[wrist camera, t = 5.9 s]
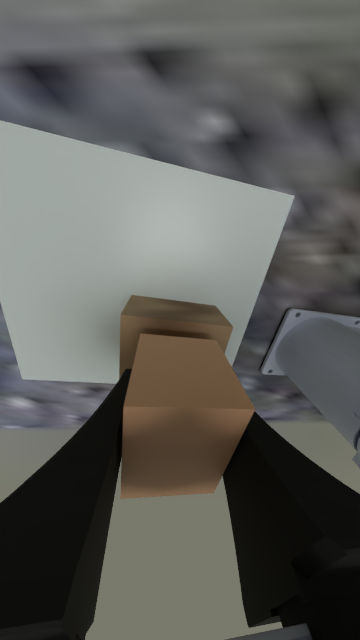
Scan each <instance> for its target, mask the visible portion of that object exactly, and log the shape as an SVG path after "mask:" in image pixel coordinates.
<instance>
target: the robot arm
mask: <svg viewBox="0 0 360 640" xmlns="http://www.w3.org/2000/svg"><path fill="white" fill-rule="evenodd" d="M297 313H298V314H297ZM296 314H297V315H296ZM260 371H261V372H262V373H263V374H268V375H283V376H287V377H288V378H289V379H290V380H291V381H292V382H293V383H294V384H295V385H296V386H297V387H298V388H299V389H300V390H301V392H302V393H303V394H304V395H305V396H306V397H307V398H308V399H309V400H310V401H311V402H312V403H313V404H314V405H315V407H316V408H317V409H318V410H319V411H320V412H321V413H322V414H323V415H324V416H325V417H326V418H327V419H328V421H329V422H330V423H331V424H332V425H333V426H334V427H335V428H336V429H337V430H338V431H339V432H340V433H341V434H342V436H343V437H344V438H345V439H346V440H347V441H348V442H349V443H350V444H351V445H352V446H353V447H354V448H355V449H356V450H357V454H356V455H355V456H354V458H353V461H354V462H355V463H356V464H357V466H358V467H359V468H360V317H354V316H347V315H340V314H332V313H325V312H318V311H310V310H303V309H296V308H291V309H289V310H288V311H287V312H286V315H285V317H284V319H283V321H282V323H281V326H280V328H279V330H278V332H277V334H276V336H275V339H274V341H273V343H272V345H271V347H270V350H269V352H268V354H267V356H266V358H265V360H264V363H263V365H262V367H261V370H260ZM131 372H132V369H125V370H124V372H123V374H122V376H121V377H120V379H119V381H118V382H117V384H116V385H115V387H114V388H113V389H112V391H111V392H110V393H109V395H108V396H107V397H106V399H105V400H104V401H103V403H102V404H101V405H100V406H99V408H98V409H97V410H96V411H95V412H94V414H93V415H92V416H91V417H90V418H89V419H88V421H87V422H86V423H85V424H84V425H83V426H82V427H81V428H80V429H79V430H78V431H77V433H76V434H75V435H74V436H73V437H72V438H71V439H70V440H69V441H68V442H67V443H66V444H65V445H64V446H63V447H62V448H61V449H60V450H59V451H58V452H57V453H56V454H55V455H54V456H53V457H52V458H50V459H49V460H48V461H47V462H46V463H45V464H44V465H43V466H42V467H41V468H40V469H38V470H37V471H36V472H35V473H34V474H33V475H32V476H31V477H30V478H28V479H27V480H26V481H25V482H24V483H23V484H22V485H21V486H20V487H18V488H17V489H16V490H15V491H14V492H13V493H12V494H10V495H9V496H8V497H7V498H6V499H5V500H3V501H2V502H1V503H0V640H85V635H86V633H87V631H88V629H89V628H90V626H91V625H92V623H93V621H94V615H95V609H96V602H97V596H98V590H99V584H100V578H101V572H102V566H103V560H104V554H105V548H106V542H107V536H108V530H109V524H110V518H111V512H112V507H113V501H114V494H115V489H116V483H117V478H118V472H119V467H120V462H121V458H122V437H123V406H124V402H125V398H126V393H127V389H128V385H129V381H130V376H131ZM223 479H224V484H225V489H226V495H227V500H228V506H229V511H230V518H231V524H232V530H233V536H234V542H235V549H236V555H237V563H238V570H239V577H240V583H241V592H242V600H243V606H244V610H245V615H246V619H247V624H248V626H249V627H256V626H261V625H265V624H271V623H276V622H281V623H282V626H283V628H280V629H275V630H270V631H266V632H261V633H256V634H251V635H246V636H241V637H236V638H231V639H227V640H360V494H359V493H357V492H355V491H354V490H352V489H351V488H349V487H348V486H346V485H345V484H343V483H342V482H340V481H339V480H338V479H336V478H335V477H333V476H331V474H329V473H328V472H326V471H325V470H324V469H322V468H321V467H319V466H318V465H317V464H315V463H314V462H313V461H311V460H310V459H309V458H307V457H306V456H305V455H304V454H302V453H301V452H300V451H299V450H297V449H296V448H295V447H293V446H292V445H291V444H290V443H289V442H287V441H286V440H285V439H284V438H283V437H281V436H280V435H279V434H278V433H277V432H276V431H275V430H274V429H272V428H271V427H270V426H269V425H268V424H267V423H266V422H265V421H264V420H263V419H262V418H261V417H260V416H259V415H258V414H257V413H256V412H255V411H254V413H253V415H252V417H251V419H250V421H249V423H248V425H247V427H246V429H245V431H244V433H243V435H242V437H241V439H240V441H239V443H238V445H237V447H236V449H235V451H234V453H233V455H232V457H231V459H230V461H229V463H228V465H227V467H226V469H225V471H224V473H223Z"/></svg>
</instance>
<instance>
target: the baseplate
mask: <svg viewBox="0 0 360 640" xmlns="http://www.w3.org/2000/svg"><path fill="white" fill-rule="evenodd" d="M293 199H294V196H293V195H289V194H285V193H281V192H277V191H273V190H269V189H265V188H261V187H257V186H254V185H250V184H246V183H242V182H238V181H234V180H230V179H226V178H222V177H219V176H215V175H211V174H207V173H203V172H199V171H195V170H191V169H187V168H184V167H180V166H176V165H172V164H168V163H164V162H160V161H156V160H152V159H149V158H145V157H141V156H137V155H133V154H129V153H125V152H121V151H117V150H114V149H110V148H106V147H102V146H98V145H94V144H90V143H86V142H82V141H79V140H75V139H71V138H67V137H63V136H59V135H55V134H51V133H47V132H43V131H40V130H36V129H32V128H28V127H24V126H20V125H16V124H12V123H8V122H5V121H1V120H0V302H1V306H2V309H3V313H4V316H5V320H6V323H7V327H8V330H9V334H10V337H11V341H12V344H13V348H14V351H15V355H16V358H17V362H18V365H19V369H20V372H21V376H22V379H28V380H50V381H71V382H93V383H114V384H117V382H118V381H119V361H120V315H121V313H122V311H123V309H124V308H125V306H126V304H127V302H128V301H129V299H130V297H131V295H137V296H145V297H152V298H160V299H168V300H176V301H184V302H191V303H199V304H207V305H215V306H216V307H217V308H218V309H219V310H220V312H221V313H222V314H223V315H224V316H225V318H226V319H227V320H228V321H229V322H230V323H231V325H232V326H233V330H232V333H231V336H230V339H229V342H228V345H227V348H226V351H225V356H226V358H227V360H228V362H229V363H230V365H231V367H232V365H233V363H234V360H235V357H236V354H237V352H238V349H239V346H240V343H241V341H242V338H243V335H244V333H245V330H246V327H247V324H248V322H249V319H250V316H251V314H252V311H253V308H254V305H255V303H256V300H257V297H258V294H259V292H260V289H261V286H262V284H263V281H264V278H265V275H266V273H267V270H268V267H269V264H270V262H271V259H272V256H273V254H274V251H275V248H276V245H277V243H278V240H279V237H280V235H281V232H282V229H283V226H284V224H285V221H286V218H287V215H288V213H289V210H290V207H291V205H292V202H293Z"/></svg>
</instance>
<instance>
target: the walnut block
mask: <svg viewBox="0 0 360 640" xmlns="http://www.w3.org/2000/svg"><path fill="white" fill-rule="evenodd" d="M232 330H233V326H232V325H231V323H230V322H229V321H228V320H227V319H226V318H225V316H224V315H223V314H222V313H221V312H220V310H219V309H218V308H217V307H216V306H215V305H207V304H199V303H191V302H184V301H176V300H168V299H160V298H152V297H145V296H137V295H131V297H130V299H129V301H128V302H127V304H126V306H125V308H124V309H123V311H122V313H121V315H120V361H119V379H120V377H121V376H122V374H123V372H124V370H125V369H132V368H133V363H134V359H135V355H136V350H137V346H138V342H139V337H140V334H152V335H163V336H174V337H186V338H197V339H208V340H217V342H218V344H219V345H220V347H221V349H222V351H223V353H224V354H225V351H226V348H227V345H228V342H229V339H230V336H231V333H232Z"/></svg>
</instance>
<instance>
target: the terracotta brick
mask: <svg viewBox="0 0 360 640" xmlns="http://www.w3.org/2000/svg"><path fill="white" fill-rule="evenodd" d="M254 411H255V408H254V406H253V404H252V403H251V401H250V399H249V397H248V396H247V394H246V392H245V390H244V388H243V387H242V385H241V383H240V381H239V379H238V378H237V376H236V374H235V372H234V370H233V369H232V367H231V365H230V363H229V362H228V360H227V358H226V356H225V354H224V353H223V351H222V349H221V347H220V345H219V344H218V342H217V340H208V339H197V338H186V337H174V336H163V335H152V334H140V337H139V342H138V346H137V350H136V355H135V359H134V363H133V368H132V372H131V376H130V381H129V385H128V389H127V393H126V398H125V402H124V406H123V437H122V470H121V471H122V472H121V499H125V498H141V497H157V496H173V495H189V494H204V493H205V494H206V493H214V491H215V489H216V487H217V485H218V483H219V481H220V479H221V477H222V475H223V473H224V471H225V469H226V467H227V465H228V463H229V461H230V459H231V457H232V455H233V453H234V451H235V449H236V447H237V445H238V443H239V441H240V439H241V437H242V435H243V433H244V431H245V429H246V427H247V425H248V423H249V421H250V419H251V417H252V415H253V413H254Z"/></svg>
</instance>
